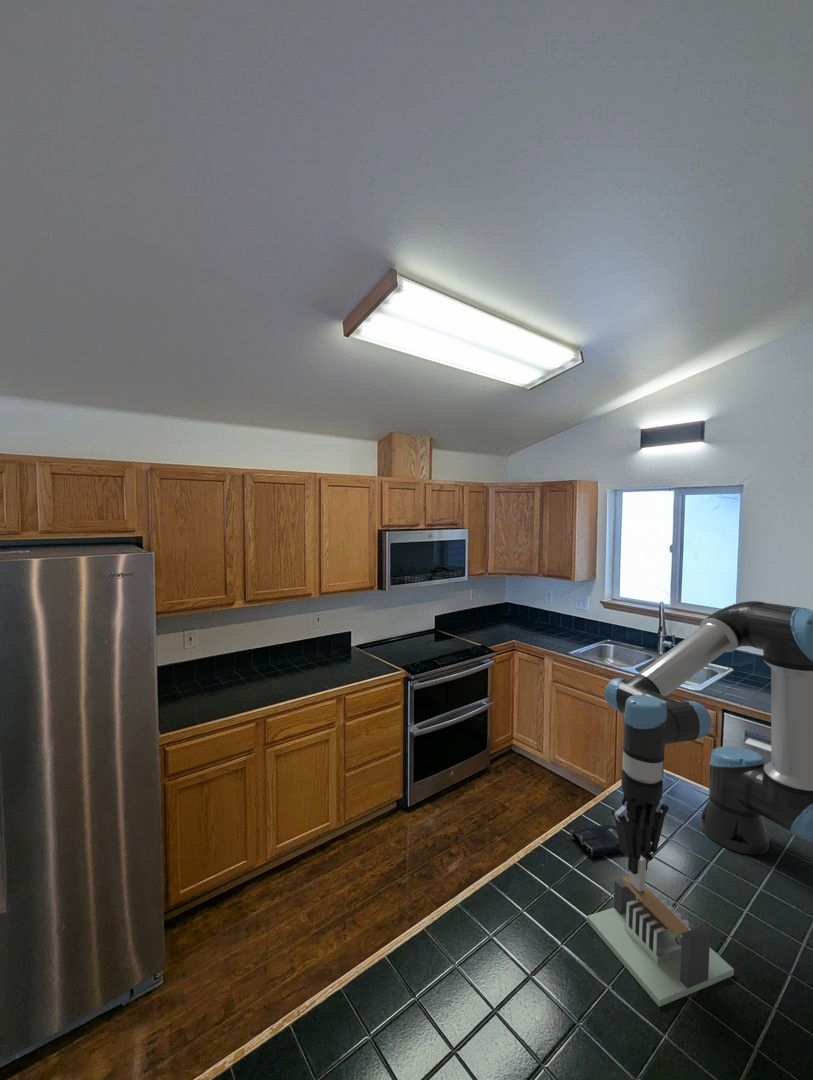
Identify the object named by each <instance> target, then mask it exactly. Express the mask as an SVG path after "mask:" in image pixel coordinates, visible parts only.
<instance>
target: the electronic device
mask: <svg viewBox="0 0 813 1080" xmlns="http://www.w3.org/2000/svg"><path fill="white" fill-rule="evenodd" d="M569 834H570V839H571V840H573V841H574V842H576V844H577V845H578V846H579V848H581V849H582V851H584V852H585V853H587V854H589V852H591V853H590V855H588V856H589V857H590V858H594V857H599V856H604V855H610V854H614V853H618V854H621V853H622V852H621V851H620V846H619V840H618V834H617V828H616V825H614V824H601V825H595V826H591V827H585V828H582V829H580V830H579V829H578V831H575V829H569ZM580 843H581V844H582V845H581V844H580ZM583 845H585V846H583ZM587 846H588V847H589V849H591V851H590V850H587V849H586V848H588V847H587ZM588 851H589V852H588ZM622 854H623V853H622Z"/></svg>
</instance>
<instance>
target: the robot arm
mask: <svg viewBox="0 0 813 1080" xmlns="http://www.w3.org/2000/svg"><path fill="white" fill-rule="evenodd" d="M742 647H752V648H755V649H759V650H762V653H763V654H762V656H763V657H762V659H763V662H764V663H765V664H766V665H767V666H768V667H769V668H770V672H771V673H770V678H771V679H770V682H771V683H770V690H771V691H770V694H771V695H770V696H771V698H770V701H771V705H770V707H771V708H770V709H771V710H770V712H771V713H770V714H771V716H770V718H771V719H770V722H771V723H770V725H771V726H770V727H771V740H770V742H771V745H770V746H771V747H770V748H771V751H770V752H771V756H770V758H771V760H770V761H769V762H768V763H766V760H765V758H764V756H763V755H762V754H761V753H759V752H757V751H755V750H751V749H749V748H744V747H738V746H727V745H726V746H718V747H716V748H713V750H712V751H711V755H710V761H709V789H708V793H709V794H708V800H707V803H706V805H705V807H704V809H703V811H702V813H701V815H700V829H701V831H702V832H703V833H704V834H705V836H707V837H708V838H709V839H710V840H712V841H713V842H714V843H716V844H718V845H720V846H722V847H723V848H725V849H728V850H731V851H732V852H733V851H734V852H736V853H740V854H743V855H744V854H745V855H752V856H754V855H755V856H759V855H764V854H766V853H767V852H768V851H769V849H770V837H769V833H768V831H767V829H766V825H765V822H764V818H766V819H768V820H769V821H771V822H772V823H775V824H776V825H778V826H780V827H781V828H784V829H786V830H787V831H789V832H790V833H791V834H793V835H796V836H798V837H800V838H802V839H804V840H806V841H808V842H812V843H813V609H809V608H807V607H799V606H798V607H797V606H793V605H785V604H784V605H783V604H777V603H771V602H764V601H758V600H757V601H756V600H753V601H751V600H750V601H743V602H737V603H734V604H731V605H729V606H725V607H724V608H721V609H720V610H719V609H718V610H717V611H715V612H713V613H712V614H710V615H709V616H707V617H706V618H704V619H703V620H701V621H700V623H699V628H698V629H696V630H695V631H694V632H693V633H691V634H689V635H688V636H687V637H686V638H684V639H683V640H681V641H680V642H679V643H677V644H676V645H674V646H673V647H672V648H670V649H669V650H668V651H666V652H665V653H663V654H662V655H661V656H659V657H658V658H657V659H655V660H653V662H651V663H650V664H649V665H647V666H646V667H644V668H643V669H642V670H640V671H639V672H638V673H636V674H635V675H634V676H632V677H631V678H629V679H628V680H627V679H626V678H622V677H621V678H620V677H616V678H612V679H610V680H609V682H607V684H606V686H605V690H604V697H605V700H606V703H607V704H608V705H609V706H610V707H611V708H613V709H615V710H616V711H617V712H619V713H620V714H623V720H624V721H623V743H622V745H623V747H622V762H621V763H622V764H621V765H622V767H621V768H622V771H621V779H620V780H621V781H620V782H621V783H620V786H621V787H620V788H621V789H622V793H623V798H622V800H621V806H620V808H618V809H616V808H612V810H611V815H612V816H613V818H614V820H615V826H616V828H617V834H618V840H619V846H620V851H621V852H622V854H623V855H625V856H626V857H627V859H628V861H627V869H628V871H629V873H628V876H629V883H630V884H631V885H632V886H633V887H634V888H636V889H637V890H638V891H639V892H641V891H645V887H646V876H647V875H646V873H647V870H648V867H649V866H648V865H649V864H648V863H649V861H653V859H654V856H653V855H652V854H651V853H653V854H655V853H657V851H658V847H659V842H660V839H661V835H662V831H663V830H662V829H663V826H664V823H665V818H666V815H667V813H668V812H669V810H670V808H669V806H668V805H667V804H665V803H664V802H662V801H661V800H662V799H663V786H664V781H663V779H664V773H665V772H664V771H665V770H664V769H665V750H666V749H665V748H666V745H669V744H670V745H672V744H676V743H682V742H688V741H689V742H690V741H696V740H698V739H701V738H703V737H707V736H708V735H709V734H710V732H711V731H712V727H713V722H712V716H711V714H710V712H709V711H708V709H707V708H706V707H705V706H704V705H703V704H701V703H700V702H699V701H698V702H697V701H695V700H682V701H678V700H675V699H673V698H670V697H668V695H670V694H672V692H674V691H676V690H677V688H680V687H681V686H682V685H683V684H684V683H686V682H687V681H688V680H690V679H691V678H692V677H694V676H695V675H696V674H697V673H699V672H701V670H703V669H704V668H705V667H707V666H708V665H709V664H711V663H712V662H713V661H715V660H716V659H717V658H719V657H720V656H721V655H722V654H724V653H731V652H734V651H736V649H738V648H742ZM765 763H766V764H765ZM763 817H764V818H763Z"/></svg>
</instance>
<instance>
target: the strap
mask: <svg viewBox="0 0 813 1080" xmlns="http://www.w3.org/2000/svg"><path fill="white" fill-rule="evenodd" d="M621 879H622V882H623V883H624V884H625V885H626V886H627V887H628V888H629V889H630V890H631V891H632V892H633V893H634V894H635V895H636V898H637V899H639V900H640V901H641V902H642V903H643V904H644V905H645V906H646V907H647V908H648V909H649V910H650V911H651V912H652V913H653V914H654V915H655V916H656V917H657V918H658V919H659V920H660V921H661V922H662V923H663V924H664V925H665V926H666V927H667V929H668V930H669V931H670V932H671V933H672V934H673V935H674V936H675V941H676V943H677V944H678V945H681V944H682V933H684V932H687V931H690V930H689V929H688V928H687V927H686V926H685V925H684V924H683V923H682V922H681V921H680V920H679V919H678V918H677V917H676V916H675V915H674V914H673V913H672V912H671V911H670V910H669V909H668V908H667V907H668V906H667V907H666V906H665V905H664V904H663V903H662V902H661V901H660V900H661V899H660V900H659V899H658V898H657V897H656V896H655V895H654V894H655V893H652V892H653V891H651V890H650V889H649V888H648V887H647V886H645V891H641V892H639V891H638V890H637V889H636V888H634V887H633V886H632V885H631V884H630V883H629V875H628V876H625V877H622V878H621Z"/></svg>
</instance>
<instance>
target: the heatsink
mask: <svg viewBox="0 0 813 1080" xmlns="http://www.w3.org/2000/svg"><path fill="white" fill-rule="evenodd" d="M653 894H654V895H655V896H656V897H657V898H658V899H659V900H660V901H661V902H662V903H663V904H664V905H665V906H666V907H667V908H668V909H669V910H670V911H671V912H672V913H673V914H674V915H675V916H676V917H677V918H678V919H679V920H680V921H681V922H682V923H683V924H684V925H685V926H686V927H687V928H688V929H689V928H690V927H689V926H690V925H689V924H690V921H689V920H688V919H686V918H685V919H682V914H681V913H680V912H679V911H677V912H675V910H674V909H675V907H674V906H672V905H668V904H667V903H668V902H667V901H666V899H664V898H662V899H661V895H660V894H659V893H658V892H656V893H653ZM624 930H625V931H626V932H627V933H628V934H629V935H630V936H631V937H632V938H633V939H634V941H635V942H636V943H637V944H638V945H639V946H640V947H641V948H642V949H643V950H644V951H645V952H646V954H647V955H648V956H649V957H650V958H651V959H652V960H653V961H654V962H655V963H656V964H657V965H660V964H662V963H665V962H667V961H670V960H673V959H675V958H678V957H680V956H681V945H678V944H677V943H676V941H675V936H674V935H673V934H672V933H671V932H670V931H669V930H668V929H667V927H666V926H665V925H664V924H663V923H662V922H661V921H660V920H659V919H658V918H657V917H656V916H655V915H654V914H653V913H652V912H651V911H650V910H649V909H648V908H647V907H646V906H645V905H644V904H643V903H642V902H641V901H640V900H639V899H638V898H636V900H633V901H630V902H627V906H626V922H625V923H624Z"/></svg>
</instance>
